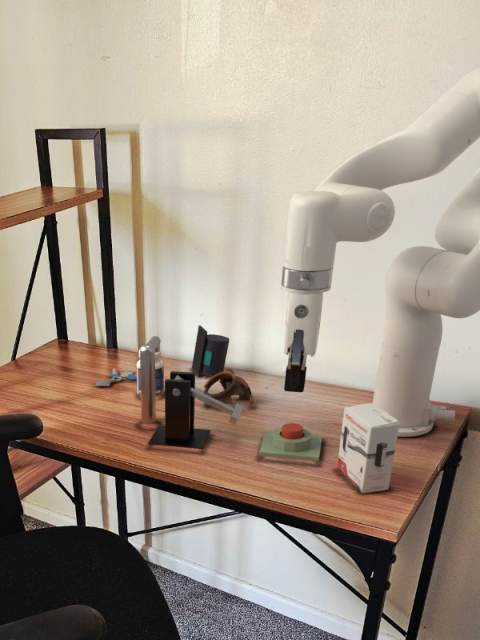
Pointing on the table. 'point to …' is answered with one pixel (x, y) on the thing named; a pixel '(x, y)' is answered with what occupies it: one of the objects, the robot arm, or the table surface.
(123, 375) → the key chain
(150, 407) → the spout
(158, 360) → the pill bottle
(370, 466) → the ink box
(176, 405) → the black lever stand
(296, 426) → the button
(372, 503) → the table surface
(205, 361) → the speaker
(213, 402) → the tap lever
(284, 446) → the button housing
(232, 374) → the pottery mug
